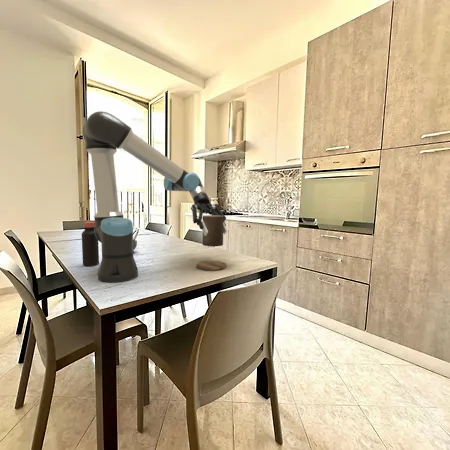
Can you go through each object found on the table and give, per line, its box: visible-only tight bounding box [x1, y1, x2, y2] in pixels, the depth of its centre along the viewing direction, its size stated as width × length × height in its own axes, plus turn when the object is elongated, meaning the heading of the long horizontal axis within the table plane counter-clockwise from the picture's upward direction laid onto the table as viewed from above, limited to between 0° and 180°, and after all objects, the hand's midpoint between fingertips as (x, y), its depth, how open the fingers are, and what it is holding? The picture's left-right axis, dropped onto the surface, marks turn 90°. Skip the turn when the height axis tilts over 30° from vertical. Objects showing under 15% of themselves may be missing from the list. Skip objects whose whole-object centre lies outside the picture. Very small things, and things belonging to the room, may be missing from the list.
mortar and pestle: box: [133, 239, 138, 254], centre depth 147 cm, size 11×9×12 cm
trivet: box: [195, 260, 227, 272], centre depth 121 cm, size 14×14×1 cm
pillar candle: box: [202, 214, 224, 247], centre depth 120 cm, size 10×10×15 cm
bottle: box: [81, 221, 100, 267], centre depth 120 cm, size 7×7×20 cm
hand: (216, 233), depth 117 cm, fingers closed on pillar candle, 10 cm apart
